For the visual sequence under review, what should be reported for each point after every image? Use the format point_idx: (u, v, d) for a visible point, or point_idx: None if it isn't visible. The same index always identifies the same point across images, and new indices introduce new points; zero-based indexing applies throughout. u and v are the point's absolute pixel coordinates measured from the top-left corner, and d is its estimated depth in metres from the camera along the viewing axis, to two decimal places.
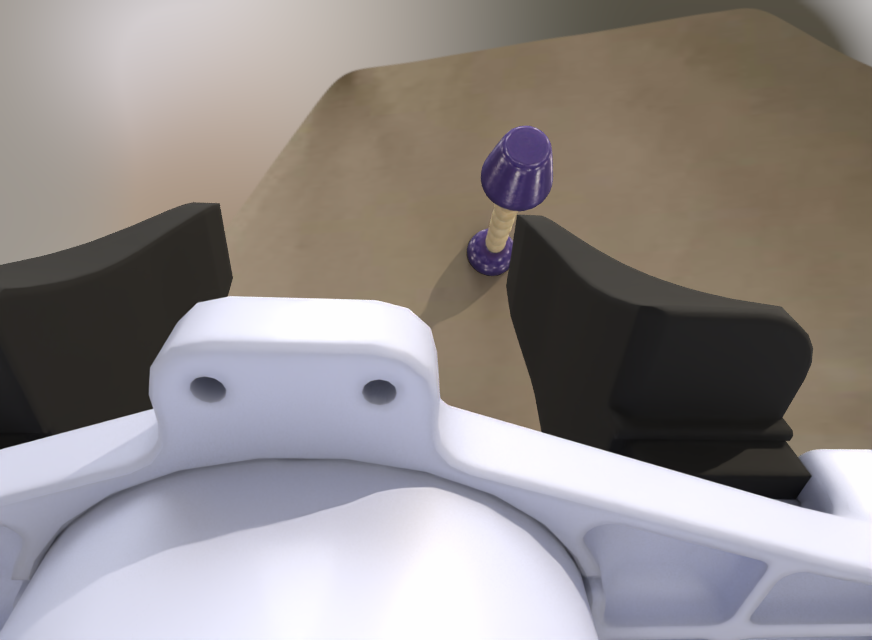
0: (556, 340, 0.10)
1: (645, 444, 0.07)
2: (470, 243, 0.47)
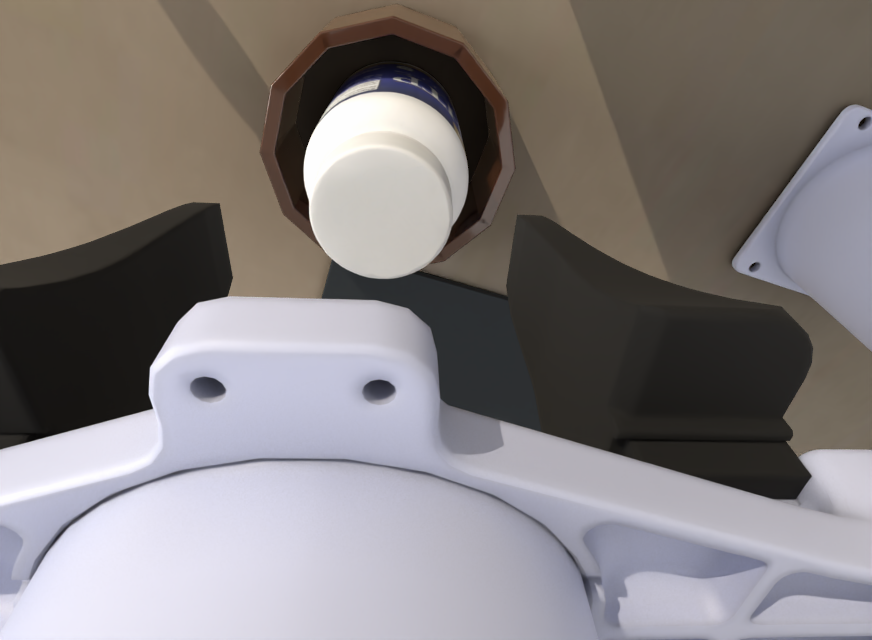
0: (556, 340, 0.10)
1: (645, 444, 0.07)
2: None
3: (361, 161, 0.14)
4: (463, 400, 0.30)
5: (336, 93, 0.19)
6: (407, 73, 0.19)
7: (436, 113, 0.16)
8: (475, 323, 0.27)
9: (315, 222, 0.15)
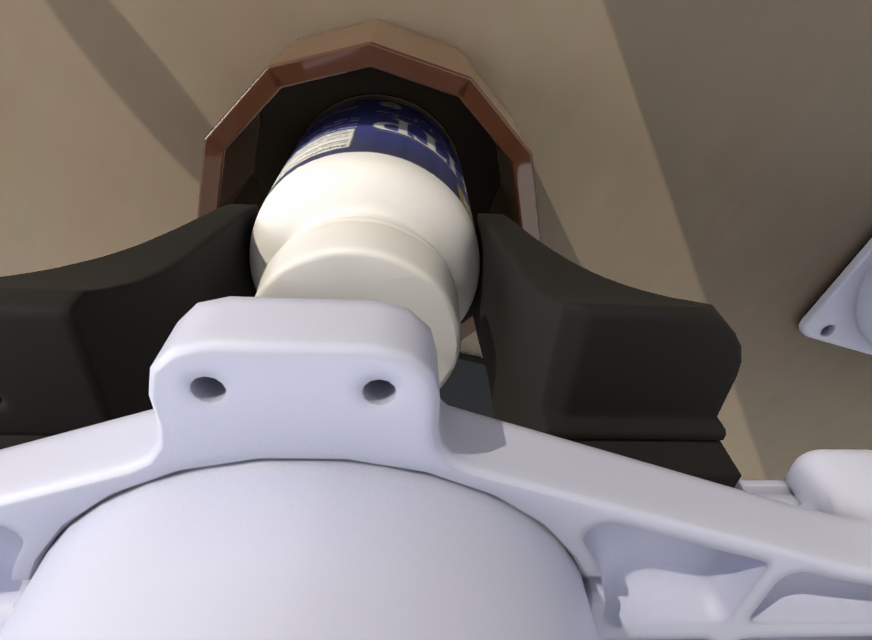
0: (506, 339, 0.10)
1: None
2: None
3: (320, 273, 0.09)
4: None
5: (299, 141, 0.14)
6: (393, 114, 0.14)
7: (434, 180, 0.11)
8: (485, 400, 0.23)
9: None
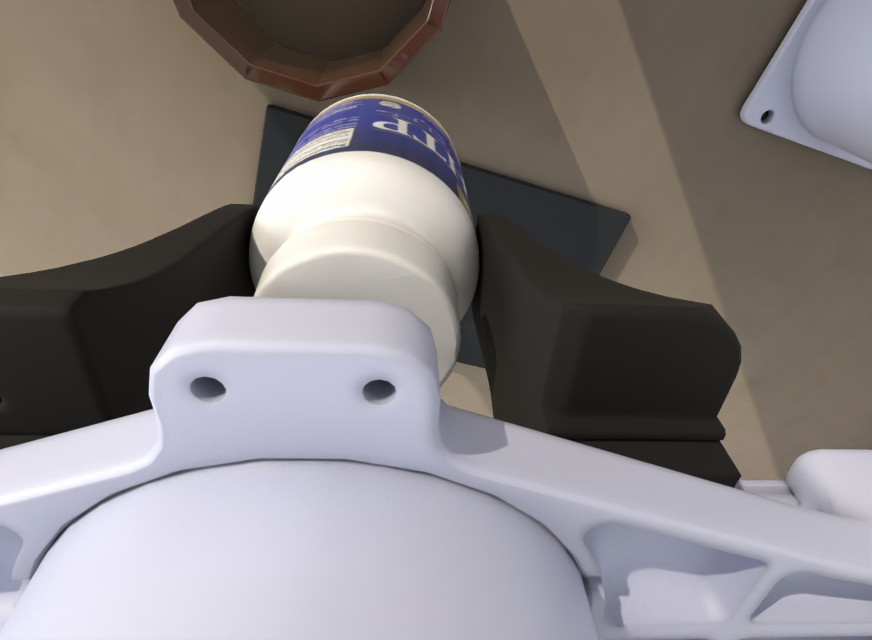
0: (506, 339, 0.10)
1: None
2: None
3: (320, 271, 0.09)
4: None
5: (299, 141, 0.14)
6: (393, 113, 0.14)
7: (433, 180, 0.11)
8: None
9: None
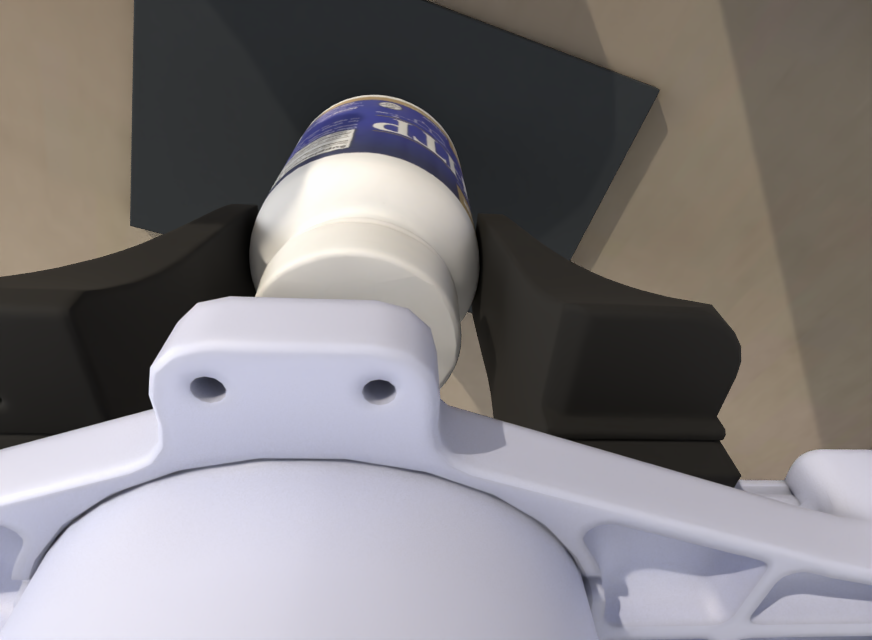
0: (506, 339, 0.10)
1: None
2: None
3: (320, 273, 0.09)
4: None
5: (299, 142, 0.14)
6: (393, 114, 0.14)
7: (433, 181, 0.11)
8: (397, 59, 0.17)
9: None
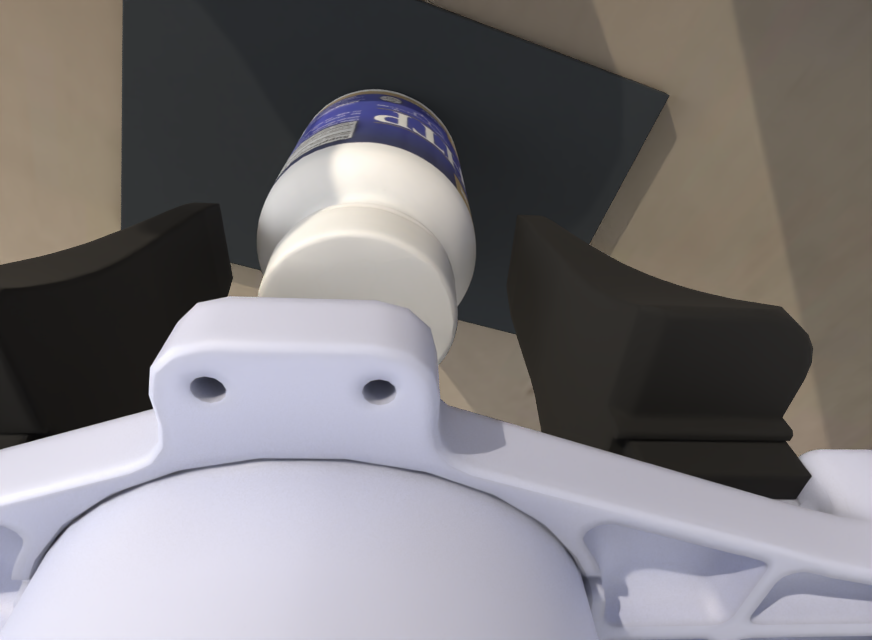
0: (556, 340, 0.10)
1: (645, 444, 0.07)
2: None
3: (325, 254, 0.10)
4: None
5: (303, 134, 0.15)
6: (393, 108, 0.15)
7: (432, 169, 0.12)
8: (397, 64, 0.16)
9: None
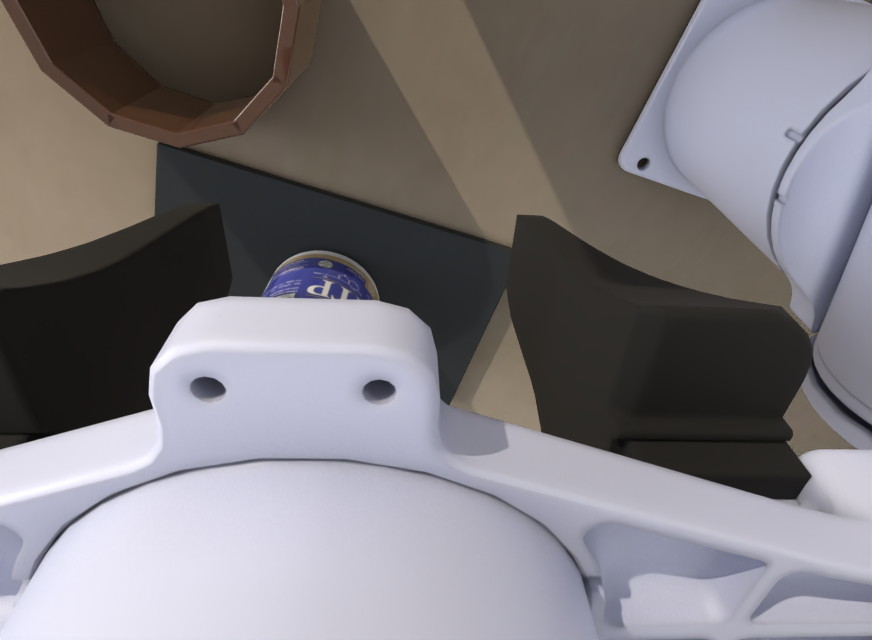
0: (556, 340, 0.10)
1: (645, 444, 0.07)
2: None
3: None
4: None
5: (267, 287, 0.23)
6: (324, 274, 0.23)
7: None
8: (333, 235, 0.24)
9: None
